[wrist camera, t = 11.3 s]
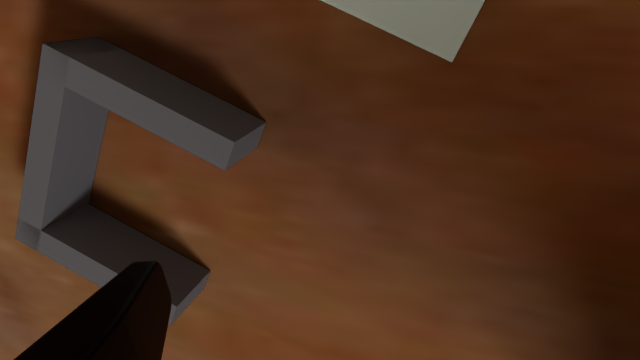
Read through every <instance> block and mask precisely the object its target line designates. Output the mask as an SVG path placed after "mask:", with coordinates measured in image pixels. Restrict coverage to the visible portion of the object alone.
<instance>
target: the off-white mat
mask: <svg viewBox="0 0 640 360" xmlns="http://www.w3.org/2000/svg"><path fill="white" fill-rule="evenodd" d="M321 1H323V2H325V3H327V4H330V5H332V6H334V7H336V8H338V9H340V10H342V11H344V12H346V13H349V14H351V15H353V16H355V17H357V18H359V19H361V20H363V21H365V22H368V23H370V24H372V25H374V26H376V27H378V28H380V29H382V30H384V31H386V32H389V33H391V34H393V35H395V36H397V37H399V38H401V39H403V40H405V41H408V42H410V43H412V44H414V45H416V46H418V47H420V48H422V49H424V50H427V51H429V52H431V53H433V54H435V55H437V56H439V57H441V58H443V59H446V60H448V61H450V62H453V60H454V58H455V56H456V54H457V52H458V50H459V48H460V46H461V45H462V43H463V41H464V39H465V37H466V35H467V33H468V31H469V30H470V28H471V26H472V24H473V22H474V20H475V18H476V16H477V14H478V13H479V11H480V9H481V7H482V5H483V3H484V1H485V0H321Z"/></svg>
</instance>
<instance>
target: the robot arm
mask: <svg viewBox="0 0 640 360" xmlns="http://www.w3.org/2000/svg"><path fill="white" fill-rule="evenodd" d="M171 305H172V299H171V293H170V290H169V287H168V284H167V280H166V277H165V274H164V271H163V268H162V266H161V264H160V263H159V262H158V261H154V260H153V261H135V262H133V263H131V264H130V265H128V266H127V267H126V268H125V269H123V270H122V271H121V272H120V273H119V274H117V275H116V276H115V277H114V278H113V279H111V280H110V281H109V282H108V283H106V284H105V285H104V286H103V287H102V288H100V289H99V290H98V291H97V292H95V293H94V294H93V295H92V296H91V297H89V298H88V299H87V300H86V301H85V302H83V303H82V304H81V305H80V306H78V307H77V308H76V309H75V310H74V311H72V312H71V313H70V314H69V315H67V316H66V317H65V318H64V319H63V320H61V321H60V322H59V323H58V324H56V325H55V326H54V327H53V328H52V329H50V330H49V331H48V332H47V333H46V334H44V335H43V336H42V337H41V338H39V339H38V340H37V341H36V342H35V343H33V344H32V345H31V346H30V347H28V348H27V349H26V350H25V351H24V352H22V353H21V354H20V355H19V356H18V357H16V358H15V359H14V360H161V358H162V352H163V347H164V342H165V337H166V332H167V327H168V322H169V317H170V312H171Z"/></svg>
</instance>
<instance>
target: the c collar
mask: <svg viewBox="0 0 640 360" xmlns="http://www.w3.org/2000/svg"><path fill="white" fill-rule="evenodd" d="M109 110H110V111H112V112H114V113H116V114H118V115H120V116H122V117H123V118H125V119H127V120H129V121H131V122H133V123H135V124H137V125H139V126H141V127H143V128H144V129H146V130H148V131H150V132H152V133H154V134H156V135H158V136H160V137H162V138H164V139H165V140H167V141H169V142H171V143H173V144H175V145H177V146H179V147H181V148H183V149H185V150H186V151H188V152H190V153H192V154H194V155H196V156H198V157H200V158H202V159H204V160H206V161H207V162H209V163H211V164H213V165H215V166H217V167H219V168H221V169H223V170H226V169H228V168H229V167H230V166H232V165H233V164H235V163H236V162H237V161H239V160H240V159H241V158H243V157H244V156H246V155H247V154H248V153H250V152H251V151H253V150H254V149H255V148H257V146H258V143H259V141H260V138H261V135H262V133H263V130H264V127H265V125H266V122H265V121H263V120H261V119H259V118H257V117H255V116H253V115H251V114H249V113H247V112H245V111H243V110H241V109H239V108H237V107H235V106H233V105H231V104H229V103H227V102H225V101H223V100H221V99H219V98H217V97H215V96H213V95H212V94H210V93H208V92H206V91H204V90H202V89H200V88H198V87H196V86H194V85H192V84H190V83H188V82H186V81H184V80H182V79H180V78H178V77H176V76H174V75H172V74H170V73H168V72H166V71H164V70H162V69H160V68H158V67H156V66H154V65H152V64H150V63H149V62H147V61H145V60H143V59H141V58H139V57H137V56H135V55H133V54H131V53H129V52H127V51H125V50H123V49H121V48H119V47H117V46H115V45H113V44H111V43H109V42H107V41H105V40H103V39H101V38H99V37H92V38H84V39H75V40H67V41H58V42H50V43H43V44H42V51H41V58H40V66H39V73H38V80H37V87H36V94H35V101H34V108H33V116H32V123H31V130H30V137H29V144H28V151H27V159H26V166H25V173H24V180H23V187H22V194H21V201H20V209H19V216H18V223H17V230H16V237H15V239H17V240H19V241H20V242H22V243H24V244H26V245H27V246H29V247H31V248H33V249H34V250H36V251H38V252H40V253H42V254H43V255H45V256H47V257H49V258H50V259H52V260H54V261H56V262H57V263H59V264H61V265H63V266H64V267H66V268H68V269H70V270H71V271H73V272H75V273H77V274H79V275H80V276H82V277H84V278H86V279H87V280H89V281H91V282H93V283H94V284H96V285H98V286H100V287H101V288H102V287H103V286H104V285H105V284H106V283H108V282H109V281H110V280H111V279H113V278H114V277H115V276H116V275H117V274H119V273H120V272H121V271H122V270H123V269H125V268H126V267H127V266H128V265H130V264H131V263H133V262H135V261H153V260H154V261H158V262H159V263H160V264H161V266H162V268H163V271H164V274H165V277H166V280H167V284H168V287H169V290H170V293H171V299H172V305H171V312H170V317H169V322H168V326H171V325H172V324H173V322H174V321H175V320H176V319H177V318H178V317H179V316H180V315H181V314H182V312H183V311H184V310H185V309H186V308H187V307H188V306H189V305H190V304H191V302H192V301H193V300H194V299H195V298H196V297H197V296H198V295H199V294H200V293H201V291H202V290H203V289H204V287H205V284H206V281H207V279H208V276H209V273H210V270H208V269H206V268H204V267H202V266H201V265H199V264H197V263H195V262H193V261H191V260H190V259H188V258H186V257H184V256H182V255H180V254H179V253H177V252H175V251H173V250H171V249H170V248H168V247H166V246H164V245H162V244H160V243H159V242H157V241H155V240H153V239H151V238H150V237H148V236H146V235H144V234H142V233H140V232H139V231H137V230H135V229H133V228H131V227H129V226H128V225H126V224H124V223H122V222H120V221H119V220H117V219H115V218H113V217H111V216H109V215H108V214H106V213H104V212H102V211H100V210H99V209H97V208H95V207H93V206H91V205H89V199H90V195H91V190H92V185H93V181H94V176H95V171H96V167H97V162H98V157H99V153H100V148H101V143H102V139H103V134H104V129H105V125H106V120H107V115H108V111H109Z"/></svg>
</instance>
